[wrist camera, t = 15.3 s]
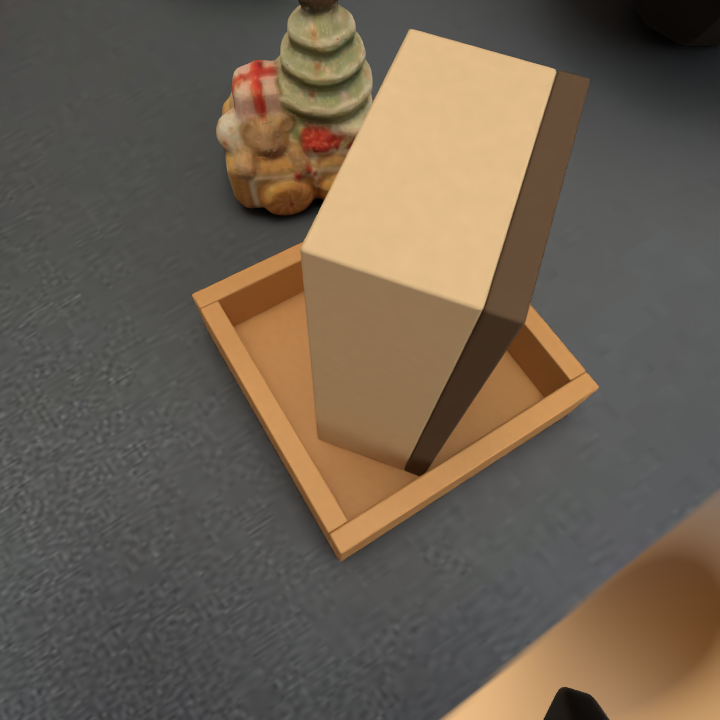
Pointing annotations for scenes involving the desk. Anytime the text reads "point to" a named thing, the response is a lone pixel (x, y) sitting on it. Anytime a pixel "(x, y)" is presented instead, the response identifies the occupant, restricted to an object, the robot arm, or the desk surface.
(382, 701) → the desk surface
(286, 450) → the mount frame
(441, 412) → the back pad
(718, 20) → the table lamp
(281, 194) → the ornament
